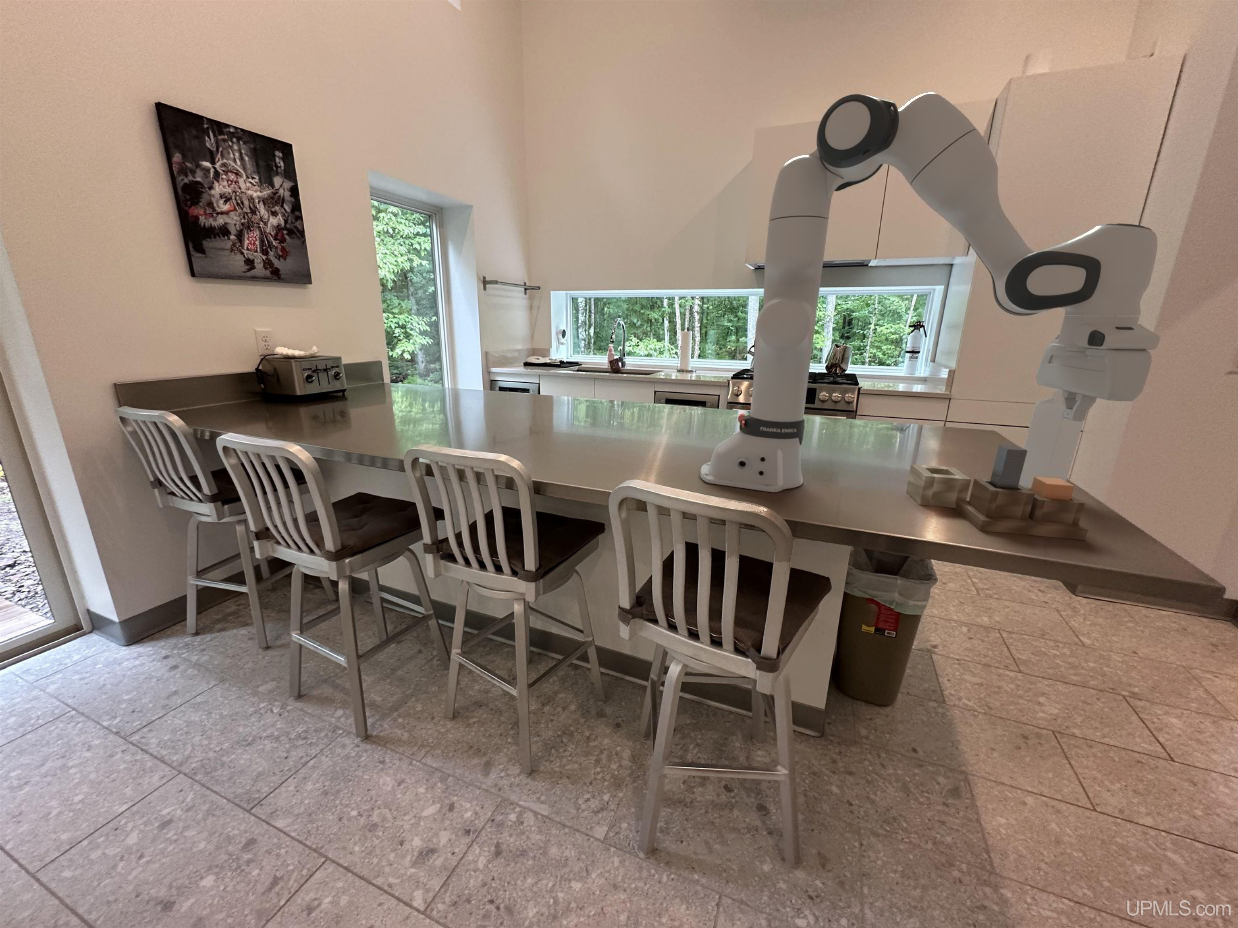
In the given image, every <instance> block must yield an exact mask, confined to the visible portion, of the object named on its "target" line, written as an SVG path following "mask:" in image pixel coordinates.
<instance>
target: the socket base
mask: <svg viewBox="0 0 1238 928" xmlns="http://www.w3.org/2000/svg"><path fill="white" fill-rule="evenodd" d="M1030 490H1031V488H1028V487H1023V486H1021V485H1020V484H1019V485H1018V489H1017V490H1010V489H997V488H995V487H993V486H992V485H990V479H987V478H976V477H975V478H973V481H972V486H971V491H970V495H969V499H968V500H957V504H956V508H954V509H955V511H956V512H957V513H959V514H960V515H961V516H962V517H963V518H964V519H965V520H967V521H968V522H969V523H970V524H971V525H973V527H975V528H976V529H977V530H979V531H981V532H982V531H983V532H993V533H1003V534H1016V535H1024V536H1037V537H1047V538H1056V539H1057V538H1058V539H1069V540H1070V539H1071V540H1079V541H1080V540H1081V541H1082V540H1083V541H1085V540H1086V539H1087V536H1088V532H1089V530H1090V529H1089V528H1088V527H1086V526H1084V525H1083V524H1080V520H1081V518H1082V514H1083V511H1084V509H1085V505H1086V503H1085V502H1084V501H1082V500H1080V499H1078V498H1076V497H1074V496H1072V495H1071V499H1070V500H1061V499H1048V498H1041V497H1040V496H1038V495H1036V494H1035V493H1033V492H1032V491H1030Z"/></svg>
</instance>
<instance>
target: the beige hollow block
mask: <svg viewBox="0 0 1238 928" xmlns="http://www.w3.org/2000/svg"><path fill="white" fill-rule="evenodd" d="M971 483H972V479H971V478H970V477H969V476H967V475H966V474H964V473H962V471H960V470H958V469H957V468H956V467H951V466H939V465H925V464H924V465H923V464H911V465H910V470H909V475H908V480H907V485H906V489H905V492H906V493H907V494H908V495H909V496H910V497H911V498H912V499H913V500H914V501H915V502H916V503H917V504H918V505H919V506H928V507H931V506H932V507H940V508H954V509H955V508H956V504H957V500H966V501H968V499H967V498H968V495H969V490H970V485H971Z"/></svg>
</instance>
